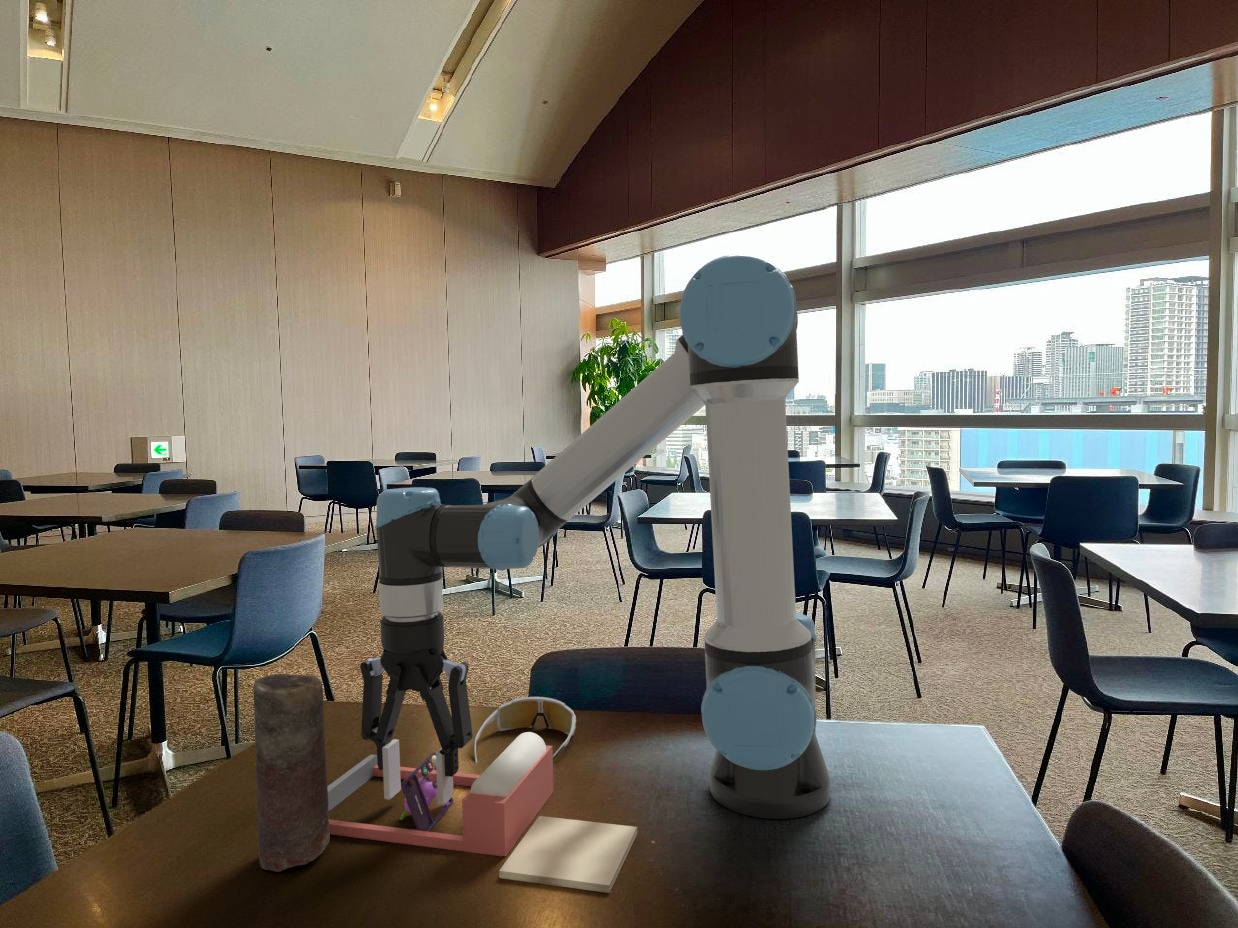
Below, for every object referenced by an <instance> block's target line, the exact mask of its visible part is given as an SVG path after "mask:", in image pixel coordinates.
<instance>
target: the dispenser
mask: <svg viewBox="0 0 1238 928" xmlns="http://www.w3.org/2000/svg"><path fill="white" fill-rule="evenodd" d="M553 748H554V746H553V745H546V743H545V741H544V739H543V738H542V737H541V736H540V735H538V734H537V733H535V732H532V731H527V732H526V731H525V732H522V733H520V734H519V735H517V736H516V738H515V739H514V740H513V741H512V742H511V743H510V744H509V745H508V746H507V747H506V748H505V749H504V750H503V752H501V754H499V755H498V756H497V757H496V758H495V760H493V762H492V763H490V765H489V766H488V767H487V768H486V769H485V770H484V771H483V772H482V773H481V774H478V773H477V774H476V773H466V772H457V773H456V774H455V775H454V776H453V786H455V785H456V786H465V787H470V791H468V792H467V793H466V794H465V795H464V796H463V798H462V799H461V802H462V803H461V805H462V806H461V807H462V810H461V811H462V832H463V833H462V835H459V834H452V833H451V834H450V833H442V832H434V831H429V832H427V831H419V830H417V829H409V828H404V827H403V828H402V827H394V826H387V825H386V826H385V825H378V824H370V823H369V824H368V823H363V822H362V823H361V822H354V821H353V822H352V821H345V820H337V819H330V818H329V831H330V835H334V836H335V835H336V836H341V837H342V836H343V837H349V838H350V837H351V838H357V839H365V840H374V841H381V842H389V843H395V844H396V843H397V844H403V845H410V846H411V845H412V846H419V847H427V848H435V849H443V850H449V851H458V852H465V853H473V854H482V855H488V856H489V855H490V856H496V857H497V856H498V857H503V856H505V857H504V858H506V857H507V855H509V853H510V852H511V850H512V849H513V848H514V846H515V844H516V843H518V841H519V839H521V836H522V835H523V834H524V833H525V831H526V829H527V828H528V827H529V826H530V824H531V823H532V821H533V820H534V819H535V818H536V816H537V815H538V813H539V812H540V810H541V809H542V808H543V806H544V805H545V804H546V803H547V801H548V799H550V797H551V796H552V794H553V793H554V787H555V786H554V785H555V784H554V760H553V755H554V749H553ZM416 768H417V767H407V766H406V767H405V766H400V778H401V780H405V779H406V778H407V777H408V776H409V775H410V774H411V773H412V772H413V771H414V770H415V769H416ZM416 775H417V778H418V780H419V778H420V779H421V778H422V777H423V779H426V778H428V777H430V780H432V781H433V782H434V783H435V784H436V783H437V772H436V770H435V769H433V770H432V771H431V772H430V773H429V771H428V775H427V776H426V777H425V778H424V776H423V775H422V774H421V769H420V770H419V771H418V772H417V773H416ZM373 777H379V778H381V777H382V778H383V770H379V768H378V765H377V754H369V755H368V756H366V757H365V758H364V759H362V760H361V761H359V762H358V763H357V764H356V765H354V766H353V767H352V768H350V769H349V770H347V771H346V772H345V773H344V774H342V775H341V776H339V777H338V778H337V779H335V780H334V781H333V782H331V783H330V784H328V785H327V789H328V808H329V812H330V811H332V810H333V809H334V808H336V807H337V806H338V805H340V803H342V802H343V801H344V800H345V799H346V798H348V797H350V795H352V794H353V793H354V792H355V791H357V790H358V789H360V788H361V787H362V786H364V785H365V784H366V783H368V781H370V780H371V779H372V778H373Z"/></svg>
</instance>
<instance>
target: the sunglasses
mask: <svg viewBox="0 0 1238 928" xmlns="http://www.w3.org/2000/svg"><path fill="white" fill-rule="evenodd" d="M539 717H543V721H544V723H545V727H546V729H550V730H551V729H552V730H557V731H560V732H562V733H564V734H565V735H567V738H566V739H565V741H563V743H562V744H561V745H560V746H559V748H558V749H557V750H556V751H555V753H553V761H555V760H556V758H558V756H559V755H560V754H561V752H562V751H563V750H564V749H565V747H567V746H568V744H569V742H570V739H571V738H572V737H573V736H574V734H575V730H576V727H577V725H576V724H577V717H576V714H575V712H574V710H573V709H572V708H570V707H569V706H568V705H566V703H565V702H562V701H561V700H558V699H555V698H552V697H545V696H527V697H519V698H516V699H513V700H511V701H509V702H506V703H504V704H501V705H499V707H498V708H497V709H496V710H494V711H493V712H492V713H491V714H490V715H489V716H488V717H487V718H486V720H485V721H484V722H483V723H482V724H481V726H480V727H479V729H478V731H477V732H476V733H477V734H476V735H475V738H474V743H473V744H474V746H473V751H474V752H473V753H474V755H473V756H474V761H475V764H477V763H478V757H477V744H478V740H479V739H480V736H481V735H482V732H483V730H484V729H485V728H486V727H487V726H488V725H490V724H492V723H493V722H494V721H495V719H496V722H497V727H498V731H500V732H503V731H508V730H514V729H522V728H534V727H535V726H536V722H537V720H538V718H539Z"/></svg>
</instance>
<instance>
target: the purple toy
mask: <svg viewBox="0 0 1238 928" xmlns="http://www.w3.org/2000/svg"><path fill="white" fill-rule="evenodd" d="M415 768H416V769H415V770H414V771H413V772H412V773H411V774H410V775H409V776H408V777H407V778H406V779H403V781H402V782H401V791H402V792H403V795H404V800H403V806H404V808H405V810H404V811H403V813H402V814H401V815H400V817H399V820H400V821H403V820H404V819H405V818H406V817H407V816H408V815H409V814H411V817H412V820H413V822H414V824H415V828H416V830H419V831H427V832H431V829H432V828H433V827H434V826H435V825H436V824H437V822H438V821H439V820H440V819H441V818H442V816H443V815H444V814H445V813H446V812H447V811H448V809H449V808H450V807H451V806H452V805H451V804H453V803H454V800H453V799H454V798H453V796H452V797H451V799H450V800H449V801H448V802H447V803H446V804H445V805H444V806H443V807H442V808H441V810H440V811H439V812H438V813H437V814H436V816H435V817H434V818H433V816H432V813H431V811H430V808H429V806H430V805H431V804H432V803H433V801H434V800H435V798H436V796H438V795H437V783H435V782H433V781H432V780H430V777H428V778H426V779H423V777H422V778H421V779H420V778H419V780H418V778H417V775H416V773H417V772H418V771H419V770H420V769H421V774H422V775H423V776H424V778H425V777H426V776H427V775H428V771H429V773H430V772H431V771H432V770H436V772H437V768H436V752H432V753H431V754H429V755H428V756H427V757H426V758H425V759H424V760H423V761H422V762H421V763H420V764H419V765H418V766H417V767H415ZM450 805H451V806H450Z"/></svg>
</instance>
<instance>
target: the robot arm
mask: <svg viewBox="0 0 1238 928" xmlns="http://www.w3.org/2000/svg"><path fill="white" fill-rule="evenodd" d="M796 299H797V298H796V294H795V290H794V287H793V285H792V284H791V282H790V280H789V278H788V276H787V275H786V274H785V272H783V271H782V270H781V269H780V268H779V267H778V266H777V265H775V264H774V263H772V262H770V261H768V260H767V259H766V258H762V257H760V256H757V255H755V254H749V253H748V254H747V253H733V254H732V253H730V254H726V255H725V254H724V255H722V256H719V257H717V258H715V259H713V260H710V261H709V262H707V263H705V264H704V265H702V267H700V268H699V269H698V270H697V271H696V272H695V274H693V276H692V277H691V278H690V280H689V281H688V283H687V284H686V286H685V287H684V290H683V293H682V295H681V298H680V304H679V315H678V316H679V325H680V328H681V333H682V334H681V335H680V336H679V337H678V338H677V339H676V340H675V346H674V347H675V349H674V352H673V353H672V354H671V355H670V356H669V357H667V359H666V360H664V361H663V362H662V363H661V364H660V365H659V366H658V367H656V368H655V369H654V370H653V371H652V372H651V373H649V374H648V375H647V376H646V377H645V378H643V380H641V381H640V383H638V384H637V385H636V386H635V387H633V388H632V389H631V390H630V391H629V392H627V394H626V395H624V396H623V397H622V398H621V399H620V400H619V401H618V402H616V403H615V404H614V405H613V406H611V407H610V409H608V410H607V411H606V412H605V413H603V414H602V415H601V416H600V417H599V418H598V419H597V420H596V421H595V422H594V423H593V424H591V425H589V427H588V428H587V429H586V430H584V432H582V433H581V434H580V435H579V436H578V437H576V438H575V439H574V440H573V441H572V442H571V443H570V444H569V445H567V446H566V447H565V448H563V450H562V451H560V452H559V453H558V454H557V455H556V456H555V457H554V458H552V460H550V461H549V462H548V463H546V465H544V466H543V467H542V468H541V469H540V470H539V471H538V472H536V473H535V475H533V476H532V477H531V479H529V480H528V481H526V482H525V483H524V484H523V485H522V486H520V487H519V488H518V489H517V490H516V491H515V492H514V493H513V494H512V495H510V496H508V497H506V498H502V499H499V500H495V501H492V502H488V503H485V504H470V505H469V504H466V505H465V504H462V505H451V504H442V503H441V498H440V493H439V491H438V490H437V489H436V488H433V487H415V486H414V487H401V488H390V489H386V490H383V491H381V492H380V494H379V495H378V496H377V499H376V521H375V522H376V524H375V530H376V540H377V554H378V555H377V556H378V557H377V559H378V572H379V573H378V579H379V580H378V590H379V591H378V596H379V597H378V598H379V613H380V615H382V616H383V617H382V619H380V624H379V625H380V645H381V647H382V648H383V651H382V654H381V655H380V657H377V656H372V657H371V658H368V659H367V660H366V659H365V660H364V661H362V662H361V663H360V666H359V669H360V672H361V675H362V680H363V691H362V692H363V693H362V708H361V709H362V710H361V711H362V712H361V713H362V714H361V731H360V732H361V733H360V736H361V738H362V739H363V740H365V741H368V740H369V741H372V742H373V743H374V744H375V746H376V755H377V765H378V768H379V770H383V777H382V779H383V795H384V797H383V798H384V800H388V801H389V800H391V799H392V798H394V797H395V796H396V795H397V794H398V793H399V792H401V791H402V787H401V783H402V782H401V780H402V779H401V778H400V767H401V759H400V739H395V738H394V737H395V736H396V734H397V733H395V730H396V727H397V723H398V721H399V717H400V714H401V709H402V706H403V703H404V699H405V696H406V692H407V691H409V690H411V691H414V692H419V695H420V698H421V700H422V701H424V702H425V704H426V707H427V710H428V713H429V716H430V719H431V722H432V725H433V727H434V730H435V732H436V736H437V738H438V742H439V745H440V747H441V748H440V749H438V750H437V751H436V752H435V753H436V768H437V786H436V791H437V795H436V796H437V806H443V807H444V806H445V805H446V803H447V802H448V801H449V800H450V799H451V797H452V798H453V797H454V785H453V776H454V775H455V774H456V773H458V770H459V769H460V765H459V763H460V762H459V749H462V748H464V747H465V746H466V745H467V744H468V743H470V742H471V741H472V739H473V738H474V737H473V728H472V720H471V719H472V718H471V713H470V712H471V710H470V704H469V703H470V702H469V695H468V687H467V686H468V685H467V678H468V677H467V676H468V673H469V667H470V666H469V664H468V663H467V662H466V661H461V662H459V663H457V662H454V661H453V660H452V661H451V660H450V659H448V657H447V655H446V653H445V650H444V644H445V625H444V624H445V622H444V620H445V619H444V615H443V614H442V612H441V610H442V609H443V608H444V601H443V600H444V599H443V571H442V570H443V568H462V569H464V568H465V569H485V570H486V569H488V570H489V569H490V570H497V571H506V570H507V569H508V570H511V569H515V570H516V569H524V568H527V567H528V566H530V565H531V564H532V563H533V561H534V558H535V556H536V555H537V553H538V548H541V547H542V546H544V545H545V544H547V543H548V542H549V541H551V540H552V539H553V537H554V536H555V535H557V532H558V530H559V529H561V528H562V527H563V526H564V525H565V524H566V523H567V522H568V521H570V519H572V518H573V517H574V516H575V515H577V513H579V512H580V511H581V510H583V509H584V508H585V507H586V506H587V505H588V504H589V503H591V502H592V501H593V500H594V499H596V498H597V497H598V496H599V495H600V494H602V493H603V492H604V491H605V490H606V489H607V488H608V487H610V486H611V485H612V484H613V483H614V482H616V481H617V480H619V478H621V477H622V476H623V475H624V474H625V473H626V472H627V471H629V470H630V469H631V468H632V467H634V466H635V465H636V464H637V463H638V462H640V461H641V460H642V459H643V458H645V456H647V455H648V454H649V453H650V452H651V451H652V450H654V449H655V448H656V447H658V445H660V444H661V443H663V441H664V440H666V439H667V438H668V437H669V436H670V435H672V434H673V433H674V432H675V431H676V430H677V429H679V428H680V427H681V426H682V425H683V424H685V422H687V421H688V420H689V419H691V418H692V417H693V416H694V415H695V414H696V413H697V412H699V411H700V410H701V409H702V408H703V407H705V421H706V422H705V423H706V425H705V427H706V443H707V459H708V460H707V461H708V478H709V496H710V497H709V498H710V514H711V515H710V516H711V531H712V532H711V533H712V552H713V554H712V555H713V569H714V570H713V571H714V588H715V589H714V591H715V608H716V620H715V622H714V623H713V624H712V625H711V626H710V627H709V628H708V629H707V630H706V631H705V633H704V638H703V639H704V642H703V643H704V658H705V660H704V661H705V679H706V680H705V681H706V690H705V692H704V694H703V696H702V702H701V705H700V706H701V707H700V710H701V711H700V712H701V720H702V725H703V729H704V732H705V735H706V737H707V739H708V741H709V742H710V744H711V745H712V746H713V748H714V749H715V753H714V757H713V759H712V763H711V765H710V768H709V791H710V794H711V796H712V797H713V799H714V800H715V801H716V802H717V803H719V804H720V805H722V806H723V807H725V808H726V809H729V810H731V811H733V812H736V813H739V814H742V815H745V816H750V817H754V818H761V819H771V820H786V819H796V818H797V819H798V818H801V817H806V816H809V815H813V814H814V813H818V812H819V811H820V810H823V808H825V807H826V806H827V805H828V803H829V802H830V799H831V776H830V774H829V771H828V768H827V765H826V761H825V759H824V756H823V752H822V749H821V746H820V743H819V741H818V738H817V733H816V732H817V731H816V727H817V711H816V642H817V639H818V638H817V635H816V631H815V630H816V626H815V622H814V620H813V619H812V618H811V617H810V616H808V615H806V614H802V613H798V612H797V610H796V609H797V607H796V589H795V572H794V570H795V569H794V568H795V567H794V550H793V531H792V530H793V529H792V528H793V527H792V509H791V508H792V507H791V492H790V491H791V490H790V472H789V471H790V469H789V466H790V465H789V448H788V431H787V429H788V425H787V409H786V405H787V404H786V399H787V398H788V395H789V394H790V393H791V392H792V390H793V389H794V388H795V387H796V386H797V385H798V384H799V381H800V379H799V377H800V376H799V375H800V374H799V354H798V334H797V333H798V331H797V330H798V323H799V322H798V321H799V317H798V316H799V315H798V311H797V300H796ZM384 671H385V673H386V674H387V675H388V677H389V681H388V684H387V685H388V686H387V688H386V692H385V694H386V698H385V701H384V705H383V708H382V702H383V701H382V699H383V682H384V681H383V680H384V679H383V673H384ZM443 672H445V680H446V681H447V682H448V685H447V686H448V687H447V688H448V689H447V690H448V696H449V698H448V699H449V705H448V703H447V700H446V698H445V694H444V685H443V682H442V679H441V677H440V676H441V674H442V673H443ZM449 706H450V708H449ZM393 738H394V739H393Z"/></svg>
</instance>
